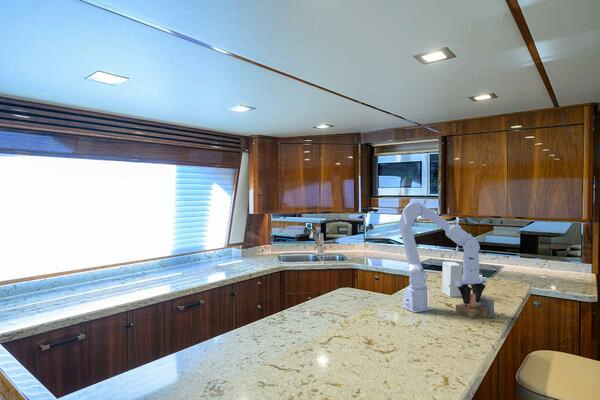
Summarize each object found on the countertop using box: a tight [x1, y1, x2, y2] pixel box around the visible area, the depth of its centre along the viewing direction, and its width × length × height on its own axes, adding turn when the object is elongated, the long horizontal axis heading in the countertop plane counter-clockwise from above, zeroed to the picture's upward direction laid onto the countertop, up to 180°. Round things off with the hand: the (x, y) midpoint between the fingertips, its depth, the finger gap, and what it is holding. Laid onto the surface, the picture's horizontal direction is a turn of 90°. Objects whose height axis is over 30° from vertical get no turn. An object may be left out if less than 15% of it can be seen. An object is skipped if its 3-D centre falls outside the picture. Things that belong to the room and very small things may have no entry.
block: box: [455, 302, 489, 319], centre depth 141 cm, size 8×8×3 cm
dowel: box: [467, 292, 476, 309], centre depth 141 cm, size 3×3×8 cm
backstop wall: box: [476, 295, 495, 317], centre depth 143 cm, size 2×10×6 cm, turn 22°
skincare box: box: [441, 261, 463, 298], centre depth 168 cm, size 8×6×15 cm
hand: (471, 302), depth 141 cm, fingers open, 5 cm apart
